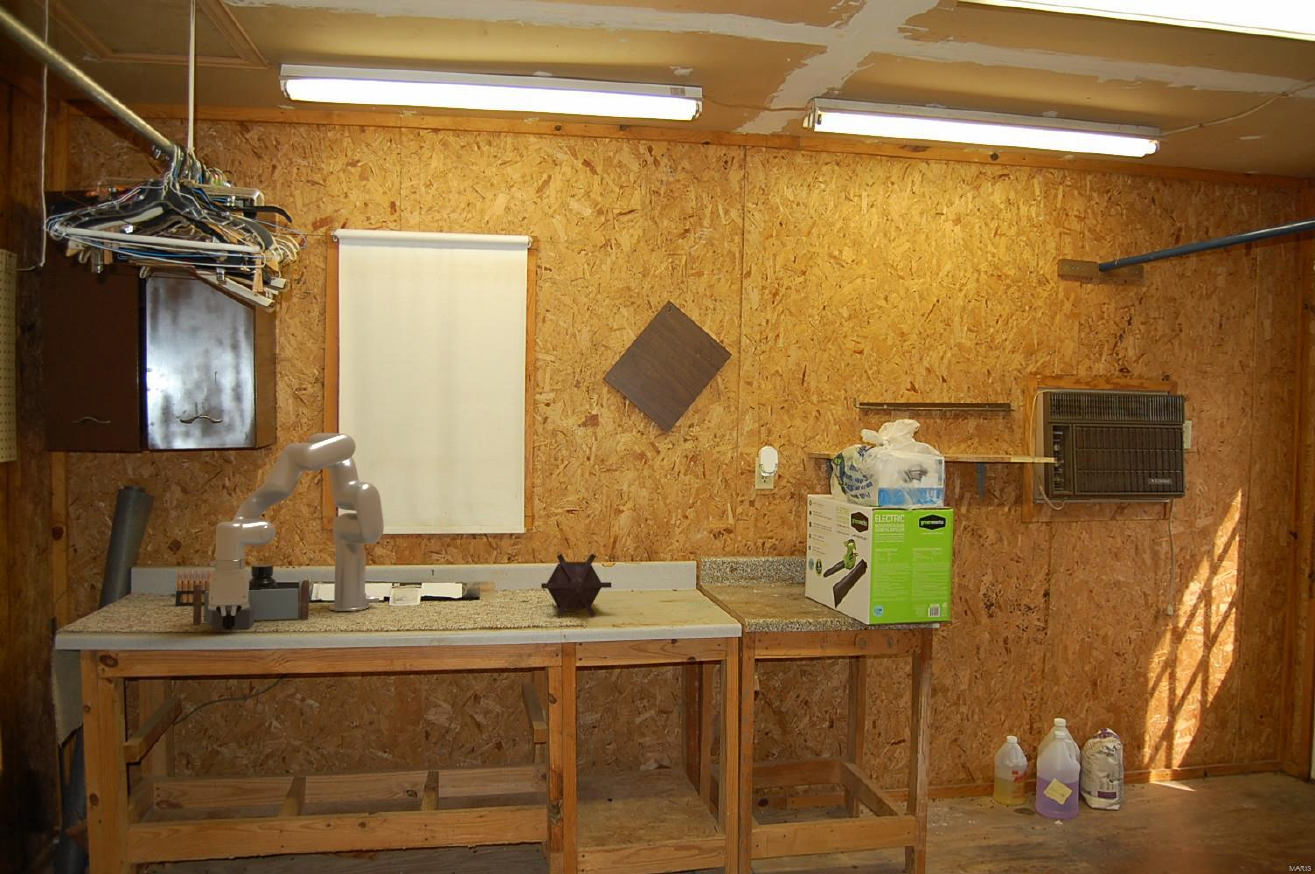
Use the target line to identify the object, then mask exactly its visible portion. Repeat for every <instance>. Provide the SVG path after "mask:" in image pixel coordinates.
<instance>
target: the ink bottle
mask: <svg viewBox="0 0 1315 874" xmlns="http://www.w3.org/2000/svg"><path fill="white" fill-rule="evenodd" d="M250 570H251V571H250V575H251V578H250V579H249V587H253V588H260V587H271V586H274V585H276V586H277V581H276V579H275V578H274V577H273V575H274V564H272V563H259V564H256V563H255V564H252V565H251V569H250Z"/></svg>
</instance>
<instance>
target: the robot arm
mask: <svg viewBox="0 0 1315 874" xmlns="http://www.w3.org/2000/svg"><path fill="white" fill-rule="evenodd" d="M306 440H307V441H306V442H293V443H289V444H287V445H286V446H285V447H284V448H283V449H282V450H281V452H280V455H279V456H278V458H277V460H276V461H275V463H274V465H273V467H272V469H271V471H270V472H269V474H268V477H267V478H266V480H265V481H264V483H263V484H262V485H261V486H259V487H258V488H257V489H256V490H255V491H254V492H253V493H252V494H250V495H249V496H248V497H247V498H246V499H245V500H244V501H243V502H242V503H241V505H240V506H239V508H238V510H237V511H236V512H235V514H234V516H233V518H232V521H222V522H219V523H218V524H217V525H216V527H215V528H216V530H215V534H216V535H215V559H214V560H212V561H209V567H213V568H214V569H213V570H212V571H211V579H210V587H209V606H208V609H211V610H217V611H218V612H219V613H220V614H221V615H222V616H223V627H225V630H227V631H232V630H231V629H232V626H235V614H236V613H237V612H238V611H240V610H241V609H244V608H248V607H249V606H250V603H249V580H250V579H249V573H248V569H247V568H245V563H246V562H245V561H246V546H254V547H255V546H257V547H259V546H265V545H266V546H267V545H268V544H270V543H271V542H272V541H273V540H274V539H275V537H276V528H275V526H274V524H273V523H271V522H270V521H267V520H264V519H260V518H261V516H262V515H263V514H264V513H265V512H266V511H267V510H268V509H270V508H271V507H273V506H274V505H276V504H279V503H282V502H284V501H286V500H288V499H290V497H291V496H293V494H294V492H295V490H296V488H297V487H298V485H299V482H300V481H301V479H302V477H303V475H304V474H305V472H306V471H308V472H309V471H310V472H317V471H320V470H324V469H327V470H328V474H329V478H330V479H329V480H330V484H331V485H330V486H331V492H332V499H333V504H334V505H335V507H337V508H338V509H339V510H345V511H354V512H344V513H342V514H340V515H338V516H337V517H336V518H335V519H334V520H333V524H332V535H333V542H334V555H335V556H334V557H335V558H334V598H333V599H334V600H333V603H331V604H330V605H329V606H328V609H329V608H330V609H331V610H336V611H335V612H337V611H353V610H360V609H364V608H367V607H369V608H370V603H379V602H380V596H379V595H378V596H377V595H370V596H369V595H367V593H366V563H367V562H366V561H367V555H366V549H365V546H364V544H367V545H371V544H372V545H373V544H375V543H377V542H378V541H380V540H381V538H382V536H383V533H384V527H385V525H384V518H383V509H382V502H381V496H380V492H379V490H378V489H377V487H376V486H375V485H373V483H370V482H365V481H360V479H359V475H358V470H357V465H356V462H355V460H354V457H353V455H354V454H355V452H356V443H355V440H354V438H353V437H352V436H351V435H348V433H347V434H346V433H333V432H319V433H313V434H312V435H310V436H309V437H308V439H306ZM227 606H232V610H231V613H230V615H229V614H228V612H227ZM330 609H329V610H330ZM331 610H330V611H331ZM353 612H354V611H353Z"/></svg>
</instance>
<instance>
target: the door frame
mask: <svg viewBox="0 0 1315 874" xmlns="http://www.w3.org/2000/svg"><path fill="white" fill-rule="evenodd" d="M298 588H299V605H298V618H297V619H302V620H301V621H305V620H304V619H308V620H309V618H310V617H309V615H310V614H309V613H310V611H309V610H310V609H309V608H310V606H309V605H310V579H302V580H301V579H300V580H299V581H298ZM201 605H202V584H195V585H194V605H193V606H192V607H193V611H192V613H193V615H192V617H193V618H192V626H193V627H194V626H195V627H196V626H200V625H201V624H202V606H201ZM308 617H309V618H308Z"/></svg>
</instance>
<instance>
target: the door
mask: <svg viewBox="0 0 1315 874" xmlns="http://www.w3.org/2000/svg"><path fill="white" fill-rule="evenodd" d="M249 603H250V606H254V621H260V620H261V621H264V620H266V621H267V620H287V619H289V620H290V619H298V610H299V587H298V588H276V589H261V590H249ZM208 606H209V591H205V596H204V606H203V622H204V623H212V611H213V610H211V609H208Z"/></svg>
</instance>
